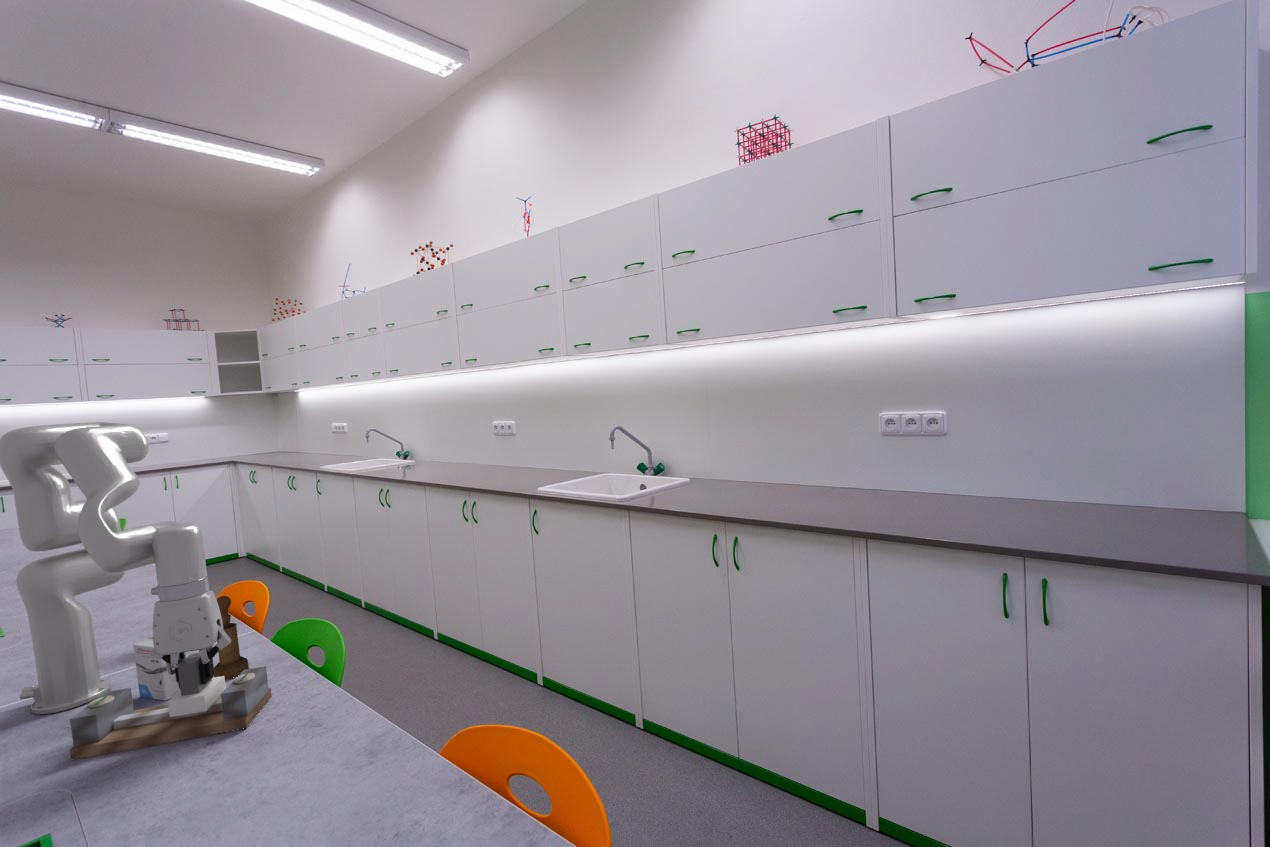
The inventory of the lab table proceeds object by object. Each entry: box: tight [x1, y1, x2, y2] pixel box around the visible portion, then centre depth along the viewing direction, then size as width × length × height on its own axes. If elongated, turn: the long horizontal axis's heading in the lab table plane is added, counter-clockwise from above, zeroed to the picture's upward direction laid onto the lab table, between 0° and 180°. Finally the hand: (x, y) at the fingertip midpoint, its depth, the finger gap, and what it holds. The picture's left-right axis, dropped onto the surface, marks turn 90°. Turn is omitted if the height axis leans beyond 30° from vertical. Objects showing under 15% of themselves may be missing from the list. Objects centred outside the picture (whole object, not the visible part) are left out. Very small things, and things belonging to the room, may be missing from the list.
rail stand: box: [69, 666, 273, 760], centre depth 113 cm, size 28×12×8 cm, turn 102°
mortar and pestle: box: [213, 595, 250, 681], centre depth 134 cm, size 7×6×18 cm
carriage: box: [167, 652, 227, 717], centre depth 113 cm, size 6×8×9 cm
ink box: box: [132, 636, 180, 701], centre depth 127 cm, size 9×5×15 cm, turn 71°
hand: (196, 682), depth 113 cm, fingers closed on carriage, 3 cm apart
